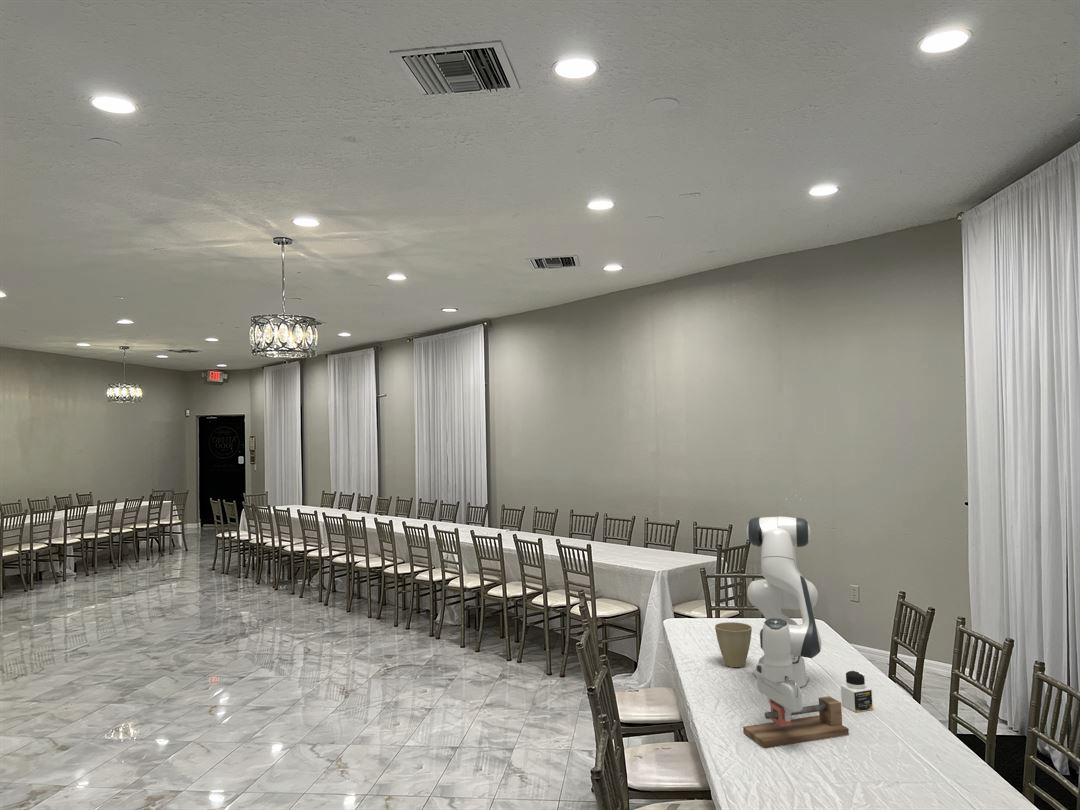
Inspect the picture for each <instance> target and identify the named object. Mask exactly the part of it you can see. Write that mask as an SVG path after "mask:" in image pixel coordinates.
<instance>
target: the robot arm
mask: <svg viewBox="0 0 1080 810" xmlns="http://www.w3.org/2000/svg"><path fill="white" fill-rule="evenodd" d="M811 535H812V531H811V527H810V524H809V523H808V521H807V520H806V518H803V517H798V516H797V517H790V516H766V517H759V516H757V517H753V518H752V517H751V518H750V519H749V520H748V523H747V525H746V537H747V539H748V542H749V543H750V544H751V545H752V546H755V547H758V548H760V547H761V553H760V554H761V555H760V564H761V566H760V567H761V568H760V569H761V572H762V577H763V579H758V580H757V579H756V580H752V581H751V582H750V583H749V585H748V587H747V591H746V593H747V598H748V601H749V602H750V604H751V605H752V606H753V607H755V609H758V611H759V612H760V613H761V614H762V615H763V617H764V619H765V621H764V622H763V625H762V626H763V627H762V628H761V630H759V639H760V643H759V644H760V648H761V649H762V651H763V654H764V655H762V656H761V657H759V659H758V663H757V664H755V669H754V670H752V674H753V675H754V677H756V683H757V688H758V691H759V693H760V694H762V695H764V697H765V696H766V697H767V700H768V701H767V702H768V704H769V705H770V702H776V703H778V704H780V705H781V706H783V707H784V710H785V714H783V719H784V720H785V721H790V720H791V718H792V716H791V714H792V712H800V711H802V709H803V707H804V704H803V699H802V693H801V688H802V687H805V686H806V685H807V684H808V681H810V678H809V676H808V675H807V670H806V664H805V659H804V658H808V659H809V658H810V659H813V658H814V657H816V656H817V655H819V653H821V650H822V638H821V634H820V632H819V630H818V627H817V624H816V619H815V614H814V613H815V612H814V607H815V606H816V604H817V603H818V600H819V591H818V590H817V587H816V586H815V584H814V583H812V581H810V580H808V579H807V578H805V577H804V576H803V574H802V573H801V572H800V571H799V569H798V568H799V567H798V564H797V557H796V556H797V555H796V552H797V551H796V548H802V547H806V546H807V545H809V542H810V540H811V537H812V536H811ZM781 610H800V615H801V620H802V623H801V624H798V623H797V622H796V621H795V620H794V619H792V618H790V617H789V616H787V615H785V614H783V612H782V611H781Z"/></svg>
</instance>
